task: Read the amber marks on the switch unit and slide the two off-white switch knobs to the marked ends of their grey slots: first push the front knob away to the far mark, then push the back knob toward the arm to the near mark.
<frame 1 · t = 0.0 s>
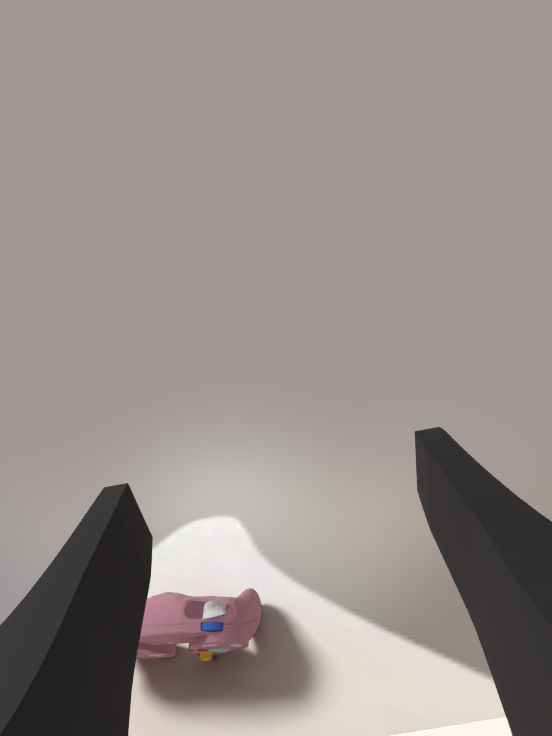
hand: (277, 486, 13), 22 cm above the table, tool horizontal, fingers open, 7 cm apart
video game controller: (190, 649, 34), on the table
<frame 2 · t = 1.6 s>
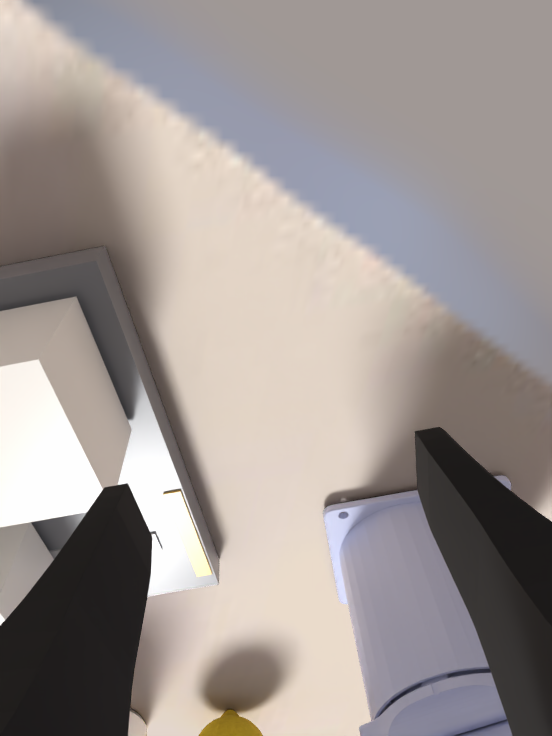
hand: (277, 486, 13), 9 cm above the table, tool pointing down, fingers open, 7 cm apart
lemon: (229, 707, 38), on the table
can: (102, 720, 37), on the table
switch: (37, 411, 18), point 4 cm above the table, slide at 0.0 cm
switch unit: (45, 457, 24), on the table
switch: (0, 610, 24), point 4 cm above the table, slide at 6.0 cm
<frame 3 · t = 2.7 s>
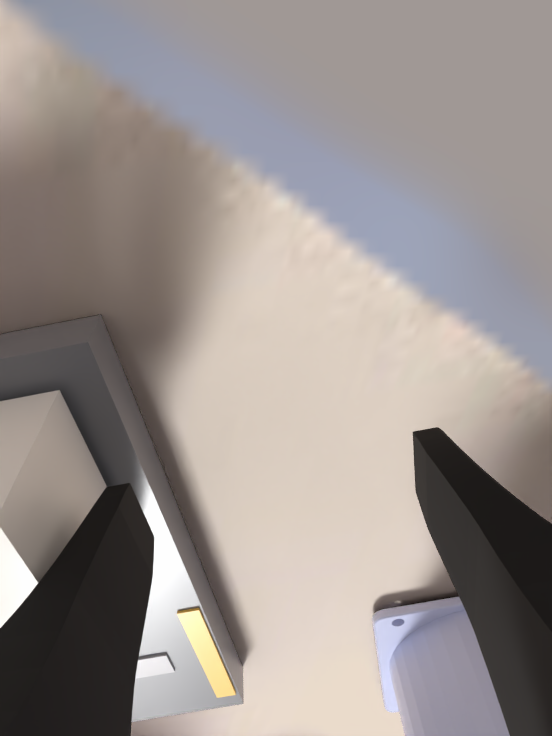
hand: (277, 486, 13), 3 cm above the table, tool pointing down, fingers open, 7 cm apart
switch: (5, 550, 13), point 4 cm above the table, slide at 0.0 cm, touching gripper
switch unit: (28, 564, 19), on the table
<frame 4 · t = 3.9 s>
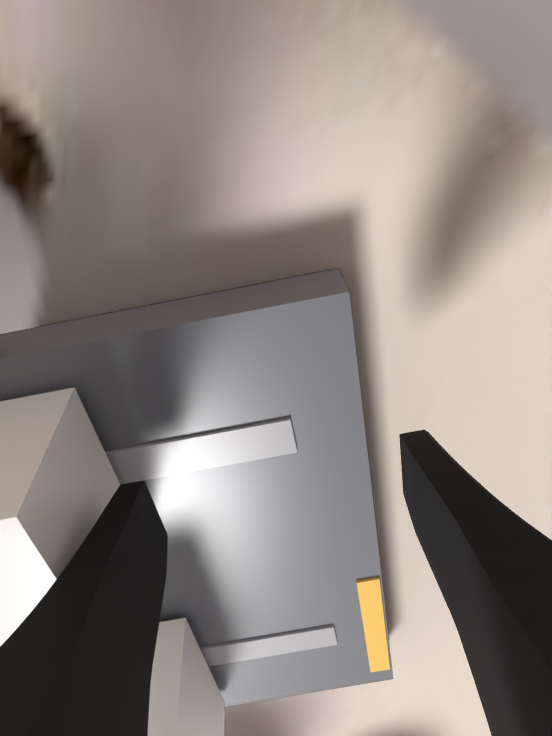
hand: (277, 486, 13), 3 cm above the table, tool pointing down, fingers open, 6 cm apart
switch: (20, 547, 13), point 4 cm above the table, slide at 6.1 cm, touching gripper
switch unit: (201, 534, 19), on the table
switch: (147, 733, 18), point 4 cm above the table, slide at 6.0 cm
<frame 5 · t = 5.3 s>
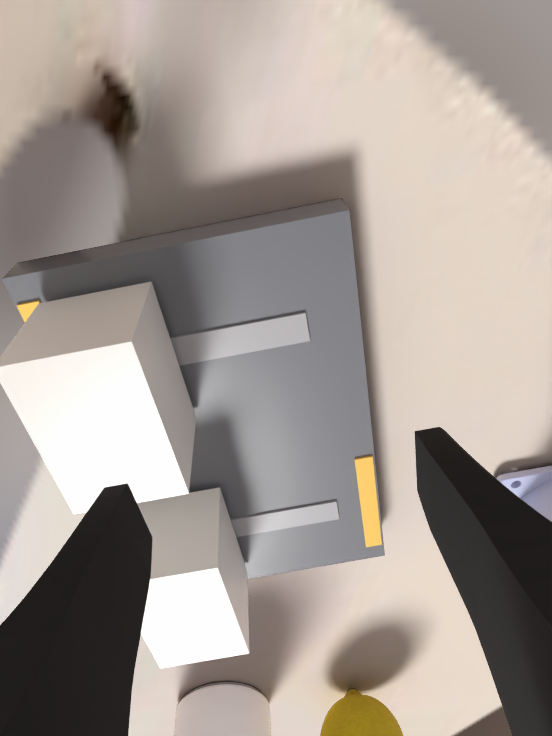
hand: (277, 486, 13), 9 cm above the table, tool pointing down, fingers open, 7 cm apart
lemon: (351, 687, 37), on the table
can: (223, 700, 37), on the table
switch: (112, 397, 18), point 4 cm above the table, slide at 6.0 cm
switch unit: (232, 423, 24), on the table
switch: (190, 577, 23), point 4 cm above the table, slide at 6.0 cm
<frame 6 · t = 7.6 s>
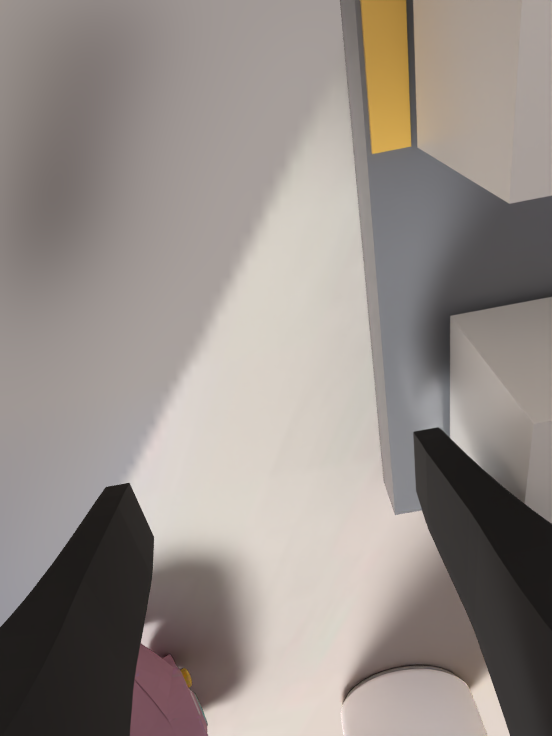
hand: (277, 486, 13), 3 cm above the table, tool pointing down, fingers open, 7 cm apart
can: (402, 693, 26), on the table
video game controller: (164, 674, 24), on the table
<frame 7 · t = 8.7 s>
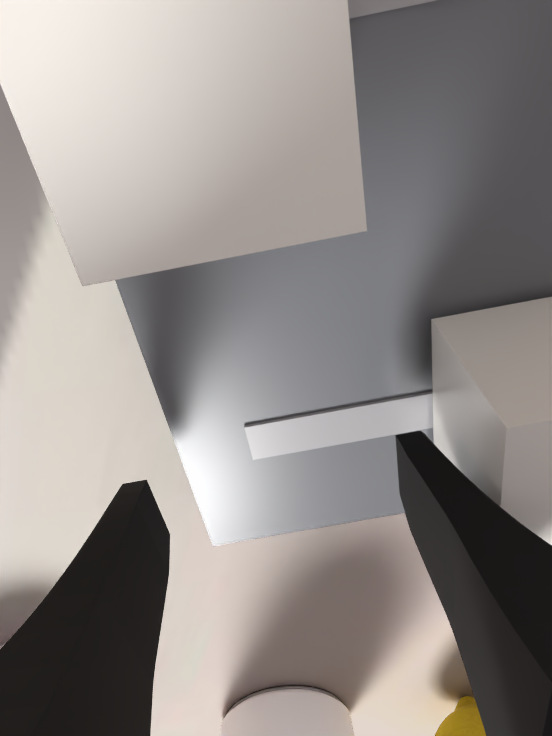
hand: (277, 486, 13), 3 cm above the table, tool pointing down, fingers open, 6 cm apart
lemon: (463, 693, 27), on the table
can: (284, 711, 27), on the table
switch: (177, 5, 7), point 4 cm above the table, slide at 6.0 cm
switch unit: (363, 225, 13), on the table
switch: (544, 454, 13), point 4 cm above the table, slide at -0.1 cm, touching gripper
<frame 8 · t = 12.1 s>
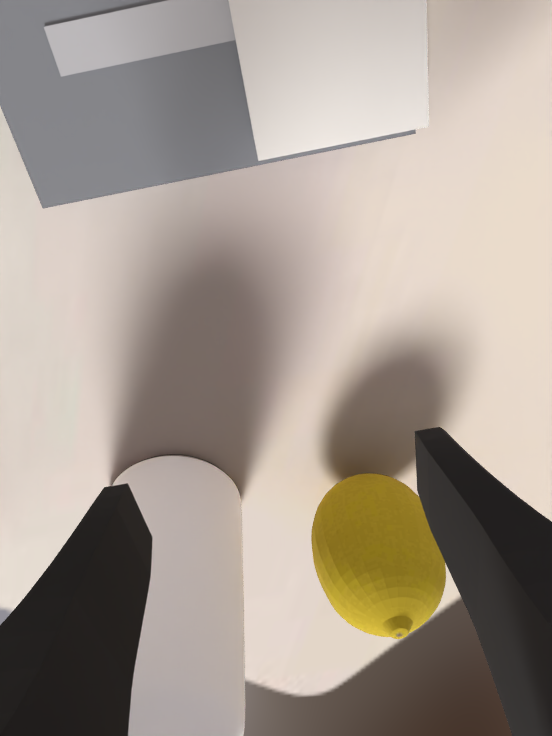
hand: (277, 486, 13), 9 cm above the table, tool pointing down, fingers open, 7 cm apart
lemon: (356, 478, 27), on the table
can: (176, 496, 26), on the table
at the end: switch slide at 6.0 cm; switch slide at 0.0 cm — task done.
